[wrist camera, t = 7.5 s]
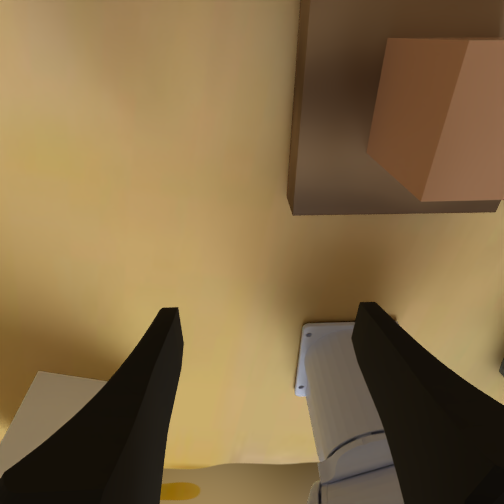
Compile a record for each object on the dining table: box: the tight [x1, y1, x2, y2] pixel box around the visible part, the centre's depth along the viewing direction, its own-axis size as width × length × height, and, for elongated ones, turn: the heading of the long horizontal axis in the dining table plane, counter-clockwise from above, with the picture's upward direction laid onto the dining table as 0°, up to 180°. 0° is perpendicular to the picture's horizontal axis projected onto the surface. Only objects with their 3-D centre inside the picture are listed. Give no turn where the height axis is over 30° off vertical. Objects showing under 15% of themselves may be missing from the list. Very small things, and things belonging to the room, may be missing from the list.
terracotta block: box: [366, 37, 504, 202], centre depth 13 cm, size 5×5×6 cm
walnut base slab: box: [287, 0, 504, 215], centre depth 17 cm, size 12×12×2 cm
